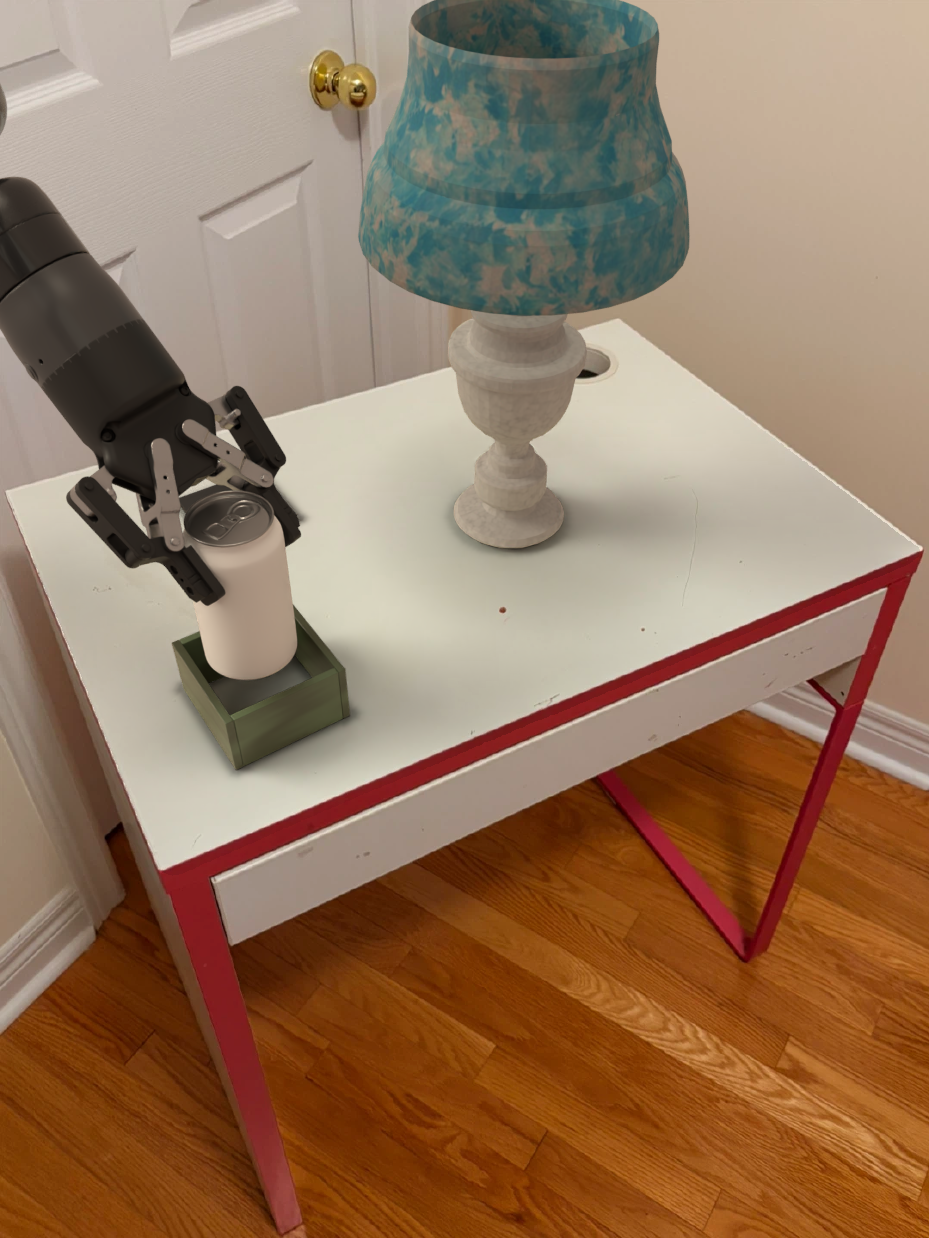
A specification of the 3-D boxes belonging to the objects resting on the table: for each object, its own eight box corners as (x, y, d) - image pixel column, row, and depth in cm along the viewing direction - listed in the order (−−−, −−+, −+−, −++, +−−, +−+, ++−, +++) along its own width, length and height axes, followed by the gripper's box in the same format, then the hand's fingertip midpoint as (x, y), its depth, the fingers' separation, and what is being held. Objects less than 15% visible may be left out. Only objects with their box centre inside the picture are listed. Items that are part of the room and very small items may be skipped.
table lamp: (687, 576, 89) (796, 62, 61) (414, 632, 83) (398, 98, 56) (582, 424, 105) (631, -36, 77) (349, 463, 100) (312, -15, 72)
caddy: (235, 770, 74) (225, 724, 70) (183, 688, 79) (171, 642, 75) (350, 715, 77) (345, 668, 74) (292, 641, 83) (286, 594, 79)
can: (316, 641, 75) (301, 508, 67) (257, 697, 71) (233, 563, 63) (247, 607, 77) (224, 474, 69) (186, 659, 73) (154, 525, 65)
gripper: (8, 375, 57) (198, 620, 60) (199, 279, 66) (356, 498, 69) (-24, 426, 63) (151, 646, 66) (156, 331, 71) (302, 530, 75)
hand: (255, 569), depth 68 cm, fingers closed on can, 6 cm apart
